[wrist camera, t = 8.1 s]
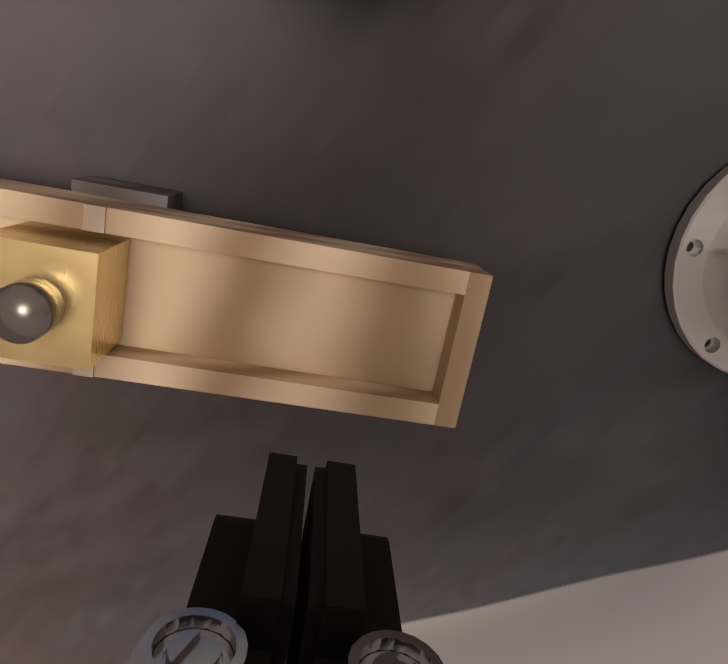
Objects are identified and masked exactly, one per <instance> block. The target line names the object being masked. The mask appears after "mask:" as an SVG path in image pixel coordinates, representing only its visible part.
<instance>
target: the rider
mask: <svg viewBox="0 0 728 664" xmlns="http://www.w3.org/2000/svg"><path fill="white" fill-rule="evenodd" d="M130 239H131V238H125V237H119V236H114V235H108V234H102V233H96V232H90V231H85V230H79V229H73V228H67V227H62V226H56V225H50V224H44V223H38V222H33V221H27V222H23V223H19V224H15V225H10V226H6V227H2V228H0V358H7V359H14V360H21V361H28V362H35V363H42V364H48V365H55V366H62V367H69V368H76V369H83V370H91V369H92V368H93V367H94V366H95V365H96V364H97V363H98V362H99V361H100V360H101V359H102V358H103V357H104V356H105V355H106V354H107V353H108V352H109V351H110V350H111V349H112V348H113V347H114V346H115V345H116V344H117V343H118V342H119V341H120V340H121V339H122V329H123V318H124V307H125V295H126V284H127V273H128V262H129V250H130Z"/></svg>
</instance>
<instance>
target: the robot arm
mask: <svg viewBox="0 0 728 664" xmlns="http://www.w3.org/2000/svg"><path fill="white" fill-rule="evenodd" d="M687 246H688V248H687ZM665 298H666V303H667V308H668V313H669V316H670V318H671V320H672V323H673V325H674V327H675V329H676V332H677V333H678V335H679V336H680V337H681V339H682V340H683V341H684V343H685V344H686V346H687V347H688V348H689V349H690V350H691V351H692V352H694V353H695V354H696V355H697V356H698V357H699V358H701V359H702V360H703V361H705V362H707V363H709V364H711V365H712V366H714V367H716V368H717V369H719V370H721V371H724V372H727V373H728V166H726V167H725V168H724V169H722V170H721V171H720V172H719V173H718V174H717V175H716V176H715V177H713V178H712V179H711V180H710V181H709V182H708V183H707V184H706V185H705V186H704V187H703V188H702V190H701V191H700V192H699V193H698V195H697V196H696V197H695V198H694V199H693V201H692V202H691V203H690V204H689V206H688V208H687V210H686V211H685V213H684V215H683V217H682V218H681V220H680V222H679V224H678V225H677V228H676V231H675V233H674V236H673V239H672V241H671V244H670V247H669V250H668V256H667V261H666V267H665ZM306 473H307V465H301V464H297V456H291V455H284V454H277V453H270V454H269V459H268V464H267V469H266V474H265V478H264V483H263V488H262V493H261V498H260V503H259V508H258V513H257V517H256V520H255V519H248V518H241V517H233V516H226V515H218V514H217V515H216V517H215V520H214V523H213V526H212V529H211V532H210V535H209V538H208V542H207V545H206V548H205V551H204V554H203V557H202V560H201V564H200V567H199V570H198V573H197V576H196V579H195V582H194V586H193V589H192V592H191V595H190V598H189V601H188V605H187V608H183V609H179V610H176V611H173V612H170V613H167V614H165V615H164V616H162V617H161V618H159V619H158V620H156V621H154V622H153V623H152V624H151V626H150V627H149V628H148V629H147V630H146V631H145V633H144V634H143V636H142V637H141V639H140V641H139V642H138V644H137V646H136V647H135V649H134V651H133V652H132V654H131V656H130V657H129V659H128V661H127V662H126V664H443V663H442V661H441V659H440V658H439V656H438V655H437V654H436V653H435V652H434V651H433V650H432V649H431V648H430V647H429V646H428V645H427V644H426V643H424V642H423V641H421V640H419V639H418V638H416V637H414V636H412V635H409V634H406V633H403V632H402V629H401V622H400V615H399V608H398V601H397V594H396V587H395V580H394V573H393V567H392V560H391V553H390V546H389V541H388V539H387V538H386V537H380V536H373V535H366V534H360V524H359V510H358V497H357V483H356V469H355V465H352V464H345V463H338V462H332V461H327V464H326V468H321V467H315V471H314V476H313V481H312V487H311V492H310V497H309V503H308V508H307V513H306V519H305V524H304V529H303V535H302V524H303V511H304V499H305V486H306ZM301 537H302V540H301Z"/></svg>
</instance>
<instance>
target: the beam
mask: <svg viewBox="0 0 728 664" xmlns="http://www.w3.org/2000/svg"><path fill="white" fill-rule="evenodd" d="M181 197H182V192H179V191H174V190H168V189H163V188H157V187H152V186H147V185H141V184H136V183H130V182H125V181H119V180H114V179H109V178H103V177H98V176H92V177H84V178H75V179H72V182H71V191H69V190H64V189H58V188H53V187H47V186H42V185H36V184H30V183H25V182H19V181H14V180H8V179H3V178H0V228H2V227H6V226H10V225H15V224H19V223H23V222H27V221H33V222H38V223H44V224H50V225H56V226H62V227H67V228H73V229H79V230H85V231H90V232H96V233H102V234H108V235H114V236H119V237H125V238H131V239H130V250H129V262H128V273H127V284H126V295H125V307H124V318H123V329H122V339H121V340H120V341H119V342H118V343H117V344H116V345H115V346H114V347H113V348H112V349H111V350H110V351H109V352H108V353H107V354H106V355H105V356H104V357H103V358H102V359H101V360H100V361H99V362H98V363H97V364H96V365H95V366H94V367H93V368H92V369H91V370H83V369H76V368H69V367H62V366H55V365H48V364H42V363H35V362H28V361H21V360H14V359H7V358H0V363H4V364H11V365H18V366H25V367H32V368H39V369H46V370H52V371H59V372H66V373H73V375H79V376H86V377H101V378H108V379H115V380H122V381H129V382H136V383H143V384H150V385H157V386H164V387H171V388H178V389H185V390H192V391H199V392H206V393H213V394H220V395H227V396H234V397H241V398H248V399H255V400H262V401H269V402H276V403H283V404H290V405H297V406H304V407H311V408H318V409H325V410H332V411H339V412H346V413H353V414H360V415H367V416H374V417H381V418H388V419H395V420H402V421H409V422H416V423H423V424H430V425H437V426H444V427H451V428H455V427H456V423H457V419H458V415H459V411H460V407H461V403H462V399H463V395H464V391H465V387H466V383H467V379H468V375H469V371H470V367H471V363H472V359H473V355H474V351H475V347H476V343H477V339H478V335H479V331H480V327H481V323H482V319H483V315H484V311H485V307H486V303H487V299H488V295H489V291H490V287H491V283H492V279H493V276H492V275H491V274H489V273H488V272H486V271H485V270H484V269H482V268H481V267H479V266H478V265H476V264H475V263H469V262H464V261H458V260H452V259H447V258H441V257H436V256H430V255H425V254H419V253H414V252H408V251H402V250H397V249H391V248H386V247H380V246H375V245H369V244H364V243H358V242H352V241H347V240H341V239H336V238H330V237H325V236H319V235H314V234H308V233H303V232H297V231H291V230H286V229H280V228H275V227H269V226H264V225H258V224H253V223H247V222H241V221H236V220H230V219H225V218H219V217H214V216H208V215H203V214H197V213H191V212H186V211H180V206H181Z"/></svg>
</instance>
